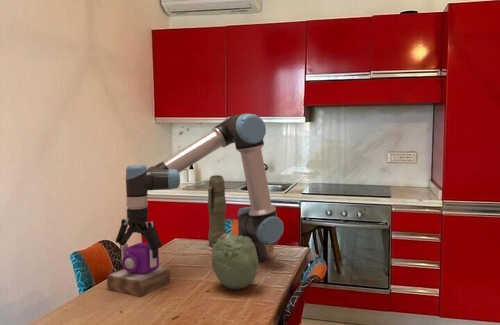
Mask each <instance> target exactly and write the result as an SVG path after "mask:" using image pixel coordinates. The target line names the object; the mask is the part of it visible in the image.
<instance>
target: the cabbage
mask: <svg viewBox="0 0 500 325" xmlns="http://www.w3.org/2000/svg"><path fill="white" fill-rule="evenodd" d="M212 246H213V247H211V248H212V249H210V250H209V252H211V253H212V255H210V257H211V259H212V260H211V267H212V269H213V272H214V274H215V276H216V277H217V279H218V281H219V283H220V284H222V285H223V286H225V287H226V288H228V289H231V290H242V289H245V288H247V287H248V286H249V285H250V284H251V283H252V282H253V281H254V280H255V279H256V276H257V271H258V268H259V265H260V264H259V263H260V262H258V256H257V251H256V248H255V245H254V244H253V242H252V240H251V239H250V238H249V237H246V236H245V237H244V236H242V235H241V236H238V234H234V233H226V234H222V235H221V237H220V238H219V239H217V242H216V243H215V245H212Z"/></svg>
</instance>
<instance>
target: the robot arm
mask: <svg viewBox="0 0 500 325" xmlns="http://www.w3.org/2000/svg"><path fill="white" fill-rule="evenodd" d="M266 133H267V127H266V124H265V122H264V119H262V117H261V116H258V115H256V114H255V113H254V114H253V113H241V114H234V115H231V116H230V117H227V118H226V119H224V120H223V121H222V122H220V123H219V124H217V125H216V126H214V127H213V128H212V129H211V131H210V132H209V133H207V134H206V135H204V136H201V137H200V138H199V139H197V140H195V141H194V142H192V143H191V144H189V145H187V146H185V147H184V148H182V149H181V150H179V151H177V152H175V153H174V154H171V156H169V157H167V158H165V159H164V160H162V161H161V162H159V163H158V164H156V165H154V166H150V167H147V165H144V164H143V165H142V164H131V165H128V166H127V167H126V168H125V188H126V190H125V191H126V207H127V208H126V218H123V219H121V222H120V223H121V225H120V227H119V231H118V232H117V236H116V239H115V243H116V244H118V245H119V249H120V251H119V252H120V254H121V261H122V260H123V258H124V256H125V250H126V248H127V247H129V244H128V241H129V239H130V238H131V236H132V235H133V234H134V233H137V234H140V235H141V236H143V238H144V240H145V241H146V243H148V244H149V246H150V247H151V250H150V268H152V267H155V266H157V261H156V258H157V257H158V250H159V249H160V248H162V247H163V243H162V241H161V239H160V236H159V234H158V231H157V229H156V224H155V221H153V220H152V221H148V217H149V208H148V206H149V205H148V204H149V203H148V202H149V201H148V198H149V197H148V192H149V191H160V190H162V191H163V190H174V189H176V190H177V189H178V188H179V187H180V185H181V175H180V173H182V172H183V171H185V170H186V169H188V168H189V167H191V166H193V165H194V164H197V162H199V161H200V160H202V159H204V158H206V157H207V156H209V155H210V154H211V153H213V152H215V151H216V150H218V149H220V148H226V147H227V146H229V145H231V144H235V146H234V147H235V150H236V151H237V152H238V153H240V156H241V162H242V167H243V171H244V173H243V174H244V177H245V178H244V179H245V183H246V188H247V193H248V198H249V203H250V206H246V207H241V208H239V209H238V212H237V233H238V234H237V235H238V236H241V235H242V236H244V237H245V236H246V237H249V238H250V239H251V240H252V242H253V244H254V245H255V248H256V251H257V256H258V262H259V263H261V262H264V261H267V260H268V259H269V251H268V247H267V244H275V243H276V242H277V241H279V240H280V238H281V237H282V236H283V235H284V234H283V233H284V229H285V227H284V222H283V220H281V218H279V217H278V213H277V209H276V208H277V207H275V206H274V205H273V204H272V200H271V195H270V189H269V184H268V183H269V182H268V179H267V172H266V169H265V163H264V158H263V153H262V148H263V147H264V145H265V141H264V137H265V136H266Z"/></svg>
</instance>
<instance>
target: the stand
mask: <svg viewBox="0 0 500 325" xmlns="http://www.w3.org/2000/svg"><path fill="white" fill-rule="evenodd" d="M106 278H107V279H106V284H107V290H109V291H114V292H118V293H121V294H126V295H132V296H137V297H140V298H143V297H145V296H146V295H148V294H150V293H153V292H154V291H156V290H158V289H160V288H162V287H164V286H166V285H168V284H170V283H171V269H170V268H166V267H159V266H158V268H156V269H154V270H152V271H150V272H148V273H146V274H139V273H133V272H127V271H126V270H125V269H124V268H123V269H120V270H117V271H115V272H112V273H110V274H109V275H106Z"/></svg>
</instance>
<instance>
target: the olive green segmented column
mask: <svg viewBox="0 0 500 325" xmlns="http://www.w3.org/2000/svg"><path fill="white" fill-rule="evenodd" d="M225 190H226V187H225V180H224V176H222V175H221V174H220V175H216V174H215V175H212V176H210V177H209V180H208V190H207V196H208V198H207V210H208V220H209V221H208V222H209V227H208V228H209V230H208V234H207V236H208V237H207V238H208V247H210V248H213V246H212V245H215V243H216V242H217V239H219V238H220V237H221V235H222V234H227V230H226V211H227V200H226V192H225Z"/></svg>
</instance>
